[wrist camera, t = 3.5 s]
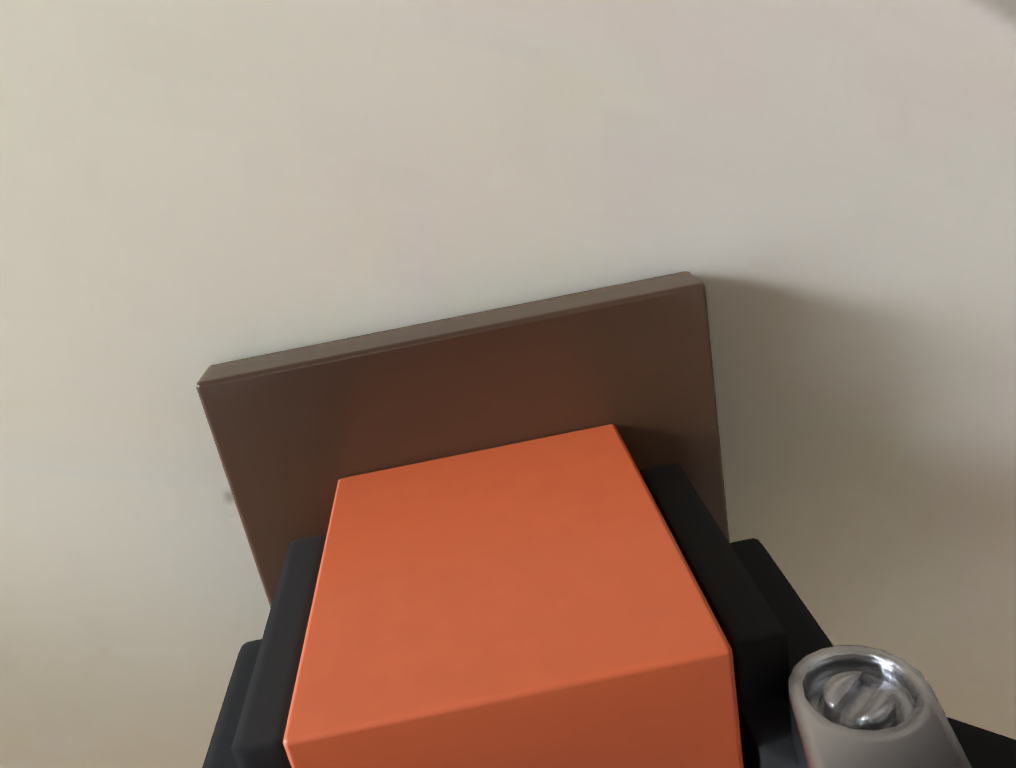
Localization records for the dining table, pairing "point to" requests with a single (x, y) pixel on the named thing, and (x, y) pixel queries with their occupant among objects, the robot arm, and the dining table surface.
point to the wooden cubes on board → (466, 400)
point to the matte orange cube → (510, 621)
